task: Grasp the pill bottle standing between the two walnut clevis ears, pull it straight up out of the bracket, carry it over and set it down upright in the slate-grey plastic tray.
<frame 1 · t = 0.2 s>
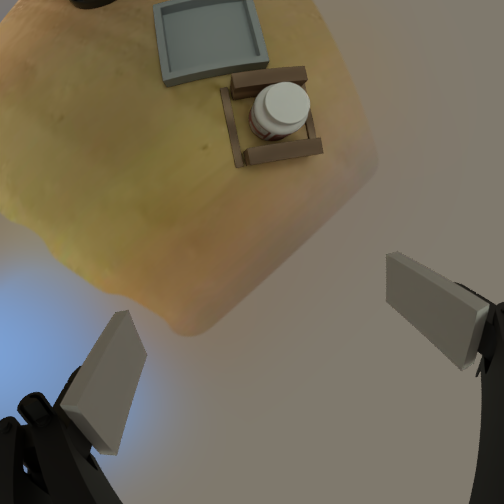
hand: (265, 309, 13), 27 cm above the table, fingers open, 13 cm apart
clevis bracket: (270, 120, 36), on the table
pill bottle: (270, 120, 36), resting in clevis bracket
tray: (208, 36, 31), on the table
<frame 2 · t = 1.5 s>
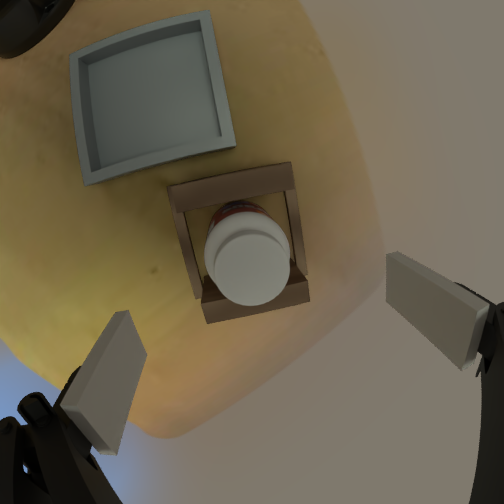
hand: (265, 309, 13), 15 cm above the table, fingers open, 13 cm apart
clevis bracket: (240, 231, 27), on the table
pill bottle: (240, 230, 28), resting in clevis bracket
tray: (149, 97, 23), on the table
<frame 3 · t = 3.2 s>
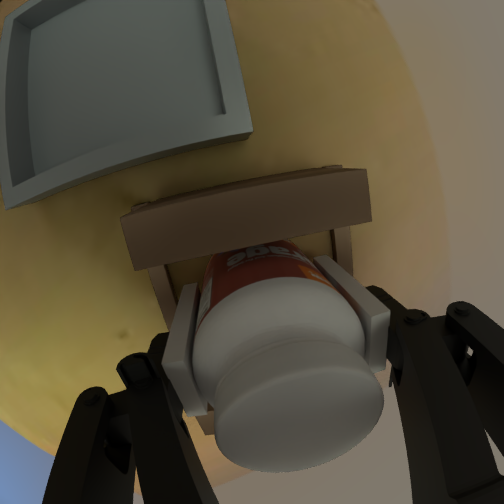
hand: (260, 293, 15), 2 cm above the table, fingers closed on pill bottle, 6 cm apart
clevis bracket: (256, 280, 17), on the table
pill bottle: (255, 279, 17), resting in clevis bracket, touching gripper
tray: (109, 61, 12), on the table
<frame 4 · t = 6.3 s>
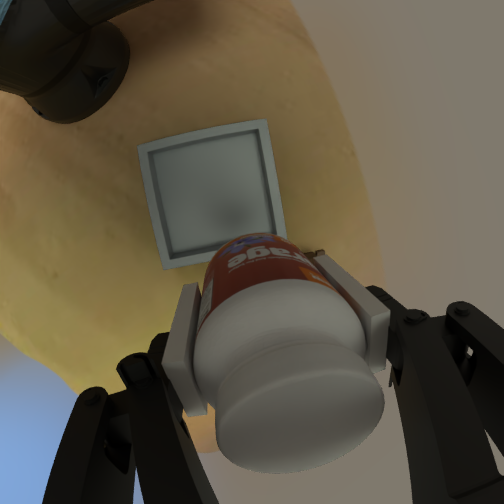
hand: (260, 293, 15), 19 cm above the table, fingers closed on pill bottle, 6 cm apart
pill bottle: (256, 280, 17), point 17 cm above the table, touching gripper
tray: (213, 192, 32), on the table
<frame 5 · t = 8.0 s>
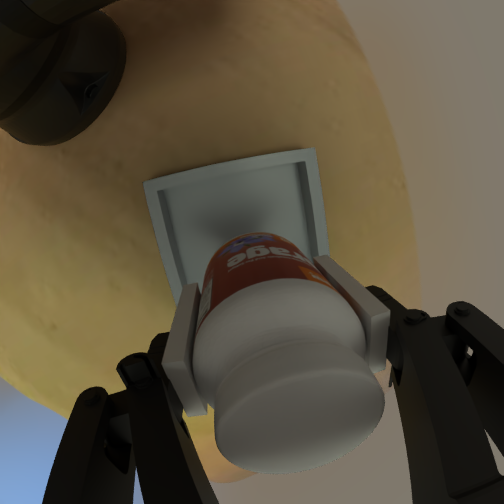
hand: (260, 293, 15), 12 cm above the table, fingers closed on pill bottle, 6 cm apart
pill bottle: (255, 279, 17), point 10 cm above the table, touching gripper
tray: (242, 237, 26), on the table
when the fingers open (4 cm above the table, at t = 9.4 s): pill bottle drops 2 cm, resting on tray.
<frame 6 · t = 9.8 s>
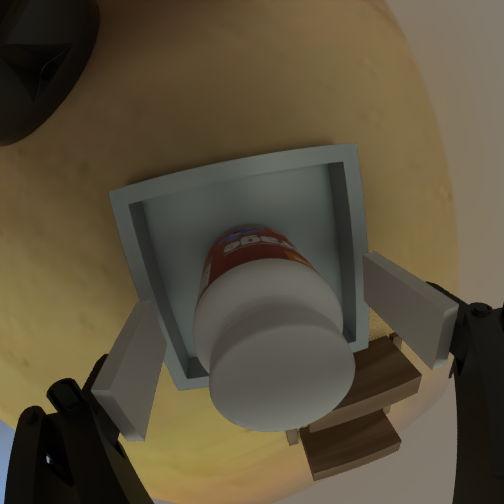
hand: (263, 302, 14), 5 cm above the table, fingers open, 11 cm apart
clevis bracket: (341, 395, 24), on the table
pill bottle: (250, 268, 19), resting on tray
tray: (251, 266, 19), on the table
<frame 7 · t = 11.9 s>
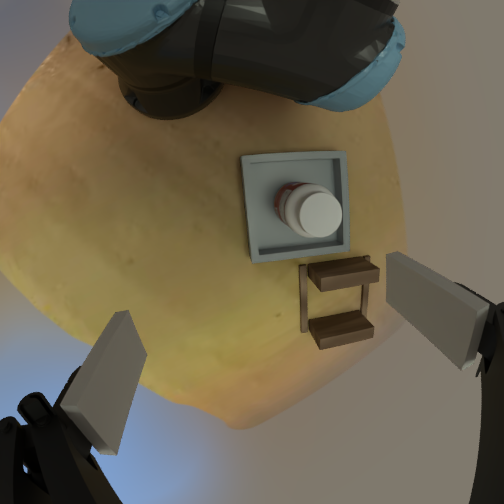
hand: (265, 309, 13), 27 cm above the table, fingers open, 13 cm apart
clevis bracket: (335, 294, 44), on the table
pill bottle: (294, 203, 39), resting on tray
tray: (294, 203, 39), on the table
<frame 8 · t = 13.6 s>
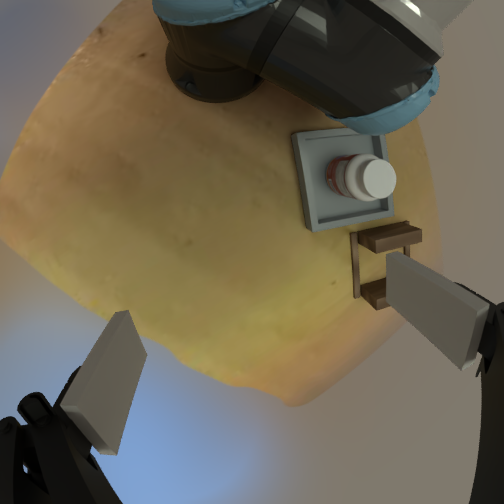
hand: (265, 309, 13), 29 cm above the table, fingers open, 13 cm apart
clevis bracket: (381, 258, 45), on the table
pill bottle: (342, 175, 40), resting on tray
tray: (342, 175, 40), on the table
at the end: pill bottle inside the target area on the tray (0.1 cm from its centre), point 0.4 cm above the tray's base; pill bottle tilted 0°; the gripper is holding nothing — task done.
